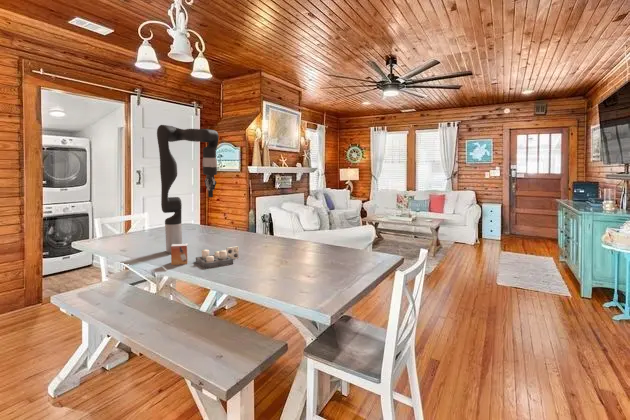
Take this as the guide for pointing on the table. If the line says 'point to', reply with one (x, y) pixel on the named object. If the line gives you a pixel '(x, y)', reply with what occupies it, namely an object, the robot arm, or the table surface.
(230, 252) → the card
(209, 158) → the robot arm
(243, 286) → the table surface
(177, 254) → the small box
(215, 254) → the button
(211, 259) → the button
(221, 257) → the button
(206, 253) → the button
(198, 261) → the board
